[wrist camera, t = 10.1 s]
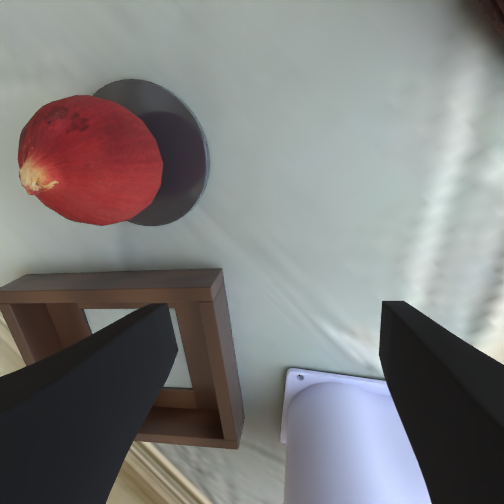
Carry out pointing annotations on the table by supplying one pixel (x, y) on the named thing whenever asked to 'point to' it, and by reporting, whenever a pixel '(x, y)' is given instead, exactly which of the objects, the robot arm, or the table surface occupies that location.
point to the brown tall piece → (495, 14)
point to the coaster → (167, 147)
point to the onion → (89, 160)
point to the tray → (135, 297)
